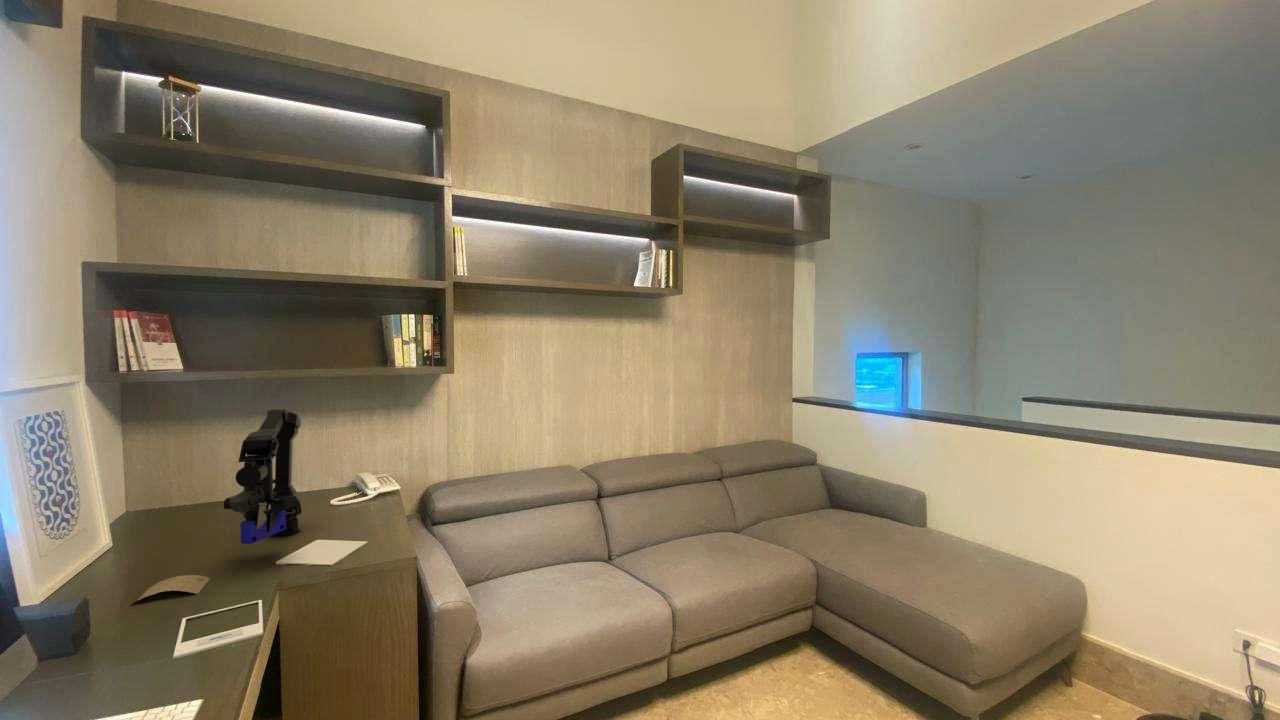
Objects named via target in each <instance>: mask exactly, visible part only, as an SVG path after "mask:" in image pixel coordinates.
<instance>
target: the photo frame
mask: <svg viewBox="0 0 1280 720" xmlns="http://www.w3.org/2000/svg"><path fill="white" fill-rule="evenodd" d="M257 603H258V623H253V624H250V625H249V624H248V625H246V626H242V627H238V628H234V629H231V630H227V631H222V632H218V633H215V634H214V633H213V634H211V635H207V636H203V637H199V638H196V639H195V638H194V639H191V640H186V641H183V642H182V640H183V636H184V631H185V628H186V623H187V620H189V619H195V618H199V617H203V616H206V615H211V614H215V613H219V612H224V611H228V610H232V609H236V608H237V609H238V608H241V607H245V606H249V605H252V604H253V605H254V604H257ZM263 617H264V616H263V600H262V599H259V600H254V601H250V602H246V603H241V604H238V605H232V606H229V607H225V608H221V609H217V610H213V611H208V612H203V613H200V614H195V615H190V616H187V617H183V618H182V619H181V624H180V627H179V631H178V636H177V640H176V644H175V648H174V653H173V657H172V660H174V659H175V658H176V659H178V658H179V659H180V658H183V657H186V656H190V655H193V654H197V653H198V654H199V653H201V651H202V652H204V651H208V650H212V649H216V648H220V647H223V646H227V645H230V644H235V643H238V642H241V641H245V640H250V639H253V638H256V637H259V636H263V635H264V622H263V621H264V620H263Z"/></svg>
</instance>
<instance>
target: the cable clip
mask: <svg viewBox="0 0 1280 720" xmlns="http://www.w3.org/2000/svg"><path fill="white" fill-rule="evenodd" d="M285 529H286V510H283V511H282V512H281V514H280V515H279V517H278V519H277V521H276V523H275V525H274V527H273V529H272V531H270V532H268V531H267V520H265V521H264V522H263V524H262V525H261V526H260V527H258V528H257V527H256V526H255V521H246V520H244V521H243V520H242V521H240V544H243V545H252V544H255V543H257V542H259V541H261V540H263V539H266V538H268V537H272V536H271V535H273V534H275V533H278V532H280V531H282V530H285Z"/></svg>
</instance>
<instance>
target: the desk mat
mask: <svg viewBox="0 0 1280 720" xmlns="http://www.w3.org/2000/svg"><path fill="white" fill-rule="evenodd" d="M367 543H368V544H369V541H366V540H365V541H358V540H338V539H337V540H335V539H332V540H331V539H316V540H314V541H312V542H310V543H308V544H307V545H304V546H303V547H301V548H299V549H298V550H296V551H294V552H292V553H290V554H288V555H286V556H284V557H282V558H281V559H279V560H277V561H275V565H285V564H306V565H305V566H309V565H312V564H313V565H334V564H335V563H337V562H338V563H339V561H340V560H341V561H342V559H343V560H345V559H346V558H347V556H348V555H349V554H351V553H352V554H354V553H355V552H357V551H358V550H357V549H359V548H360V547H362V546H363V547H364V545H365V544H366V545H368V544H367ZM366 545H365V546H366ZM363 547H362V548H363ZM360 549H361V548H360ZM360 549H359V550H360ZM356 550H357V551H356ZM354 551H355V552H354ZM353 552H354V553H353ZM352 554H351V555H352ZM349 556H350V555H349ZM349 556H348V557H349ZM345 557H346V558H345ZM341 561H340V562H341ZM338 563H337V564H338ZM307 564H308V565H307ZM335 565H336V564H335ZM335 565H334V566H335Z"/></svg>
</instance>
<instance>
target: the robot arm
mask: <svg viewBox="0 0 1280 720" xmlns="http://www.w3.org/2000/svg"><path fill="white" fill-rule="evenodd" d="M300 428H301V418H300V417H299V415H298V414H297V413H294V412H290V411H289V410H288V409H284V408H281V409H276V408H275V409H269V410H268V411H267V414H266V417H265V418H264V421H262V423H261V425H260V427H259V428H258V429H257V430H255V431H253V432H250V433H248V435H246V437H245V439H243V441H242V445H241V448H240V453H239V458H238V463H243V466H242V467H241V468H240V469H239V470H238V471H237V472H236V475H235V481H236V483H237V484H238V486H240V487H242V488H243V491H241V492H239V493H237V494H235V495H231V496H229V497H226V498H225V499H224V501H223V502H222V503H223V504H222V505H223V509H224V510H232V511H233V512H237V513H239V514H240V515H242V516H243V518H244V519H245V521H255V526H256V528H257V527H258V521H259V514H260V507H261V506H265V509H264V510H263V511H262V513H263V514H264V515H266V517H265V518H266V519H265V521H267V531H268V532H270V531H272V529H273V527H274V525H275V523H276V521H277V519H278V517H279V515H280V514H281V512H282V511H283V510H286V529H285V530H282V531H280V532H278V533H275V534H273V535H271V536H270V537H278V538H279V537H280V538H281V537H282V538H284V537H285V538H286V537H289V536H291V535H293V534H296V533H298V532H299V531H301V528H299V519H298V517H297V516H298V515H301V514H302V513H303V512H302V511H303V510H302V509H303V508H302V504H301V501H300V499H299V497H298V492H297V490H296V489H295V488H294V486H293V484H292V476H293V475H292V471H293V467H292V466H293V465H292V464H293V441H294V439H295V438H296V436H297V435H298V434H299V429H300ZM274 458H275V467H274V468H273V466H274V465H273V460H274ZM273 470H275V471H274V473H273ZM273 475H274V476H273Z"/></svg>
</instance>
